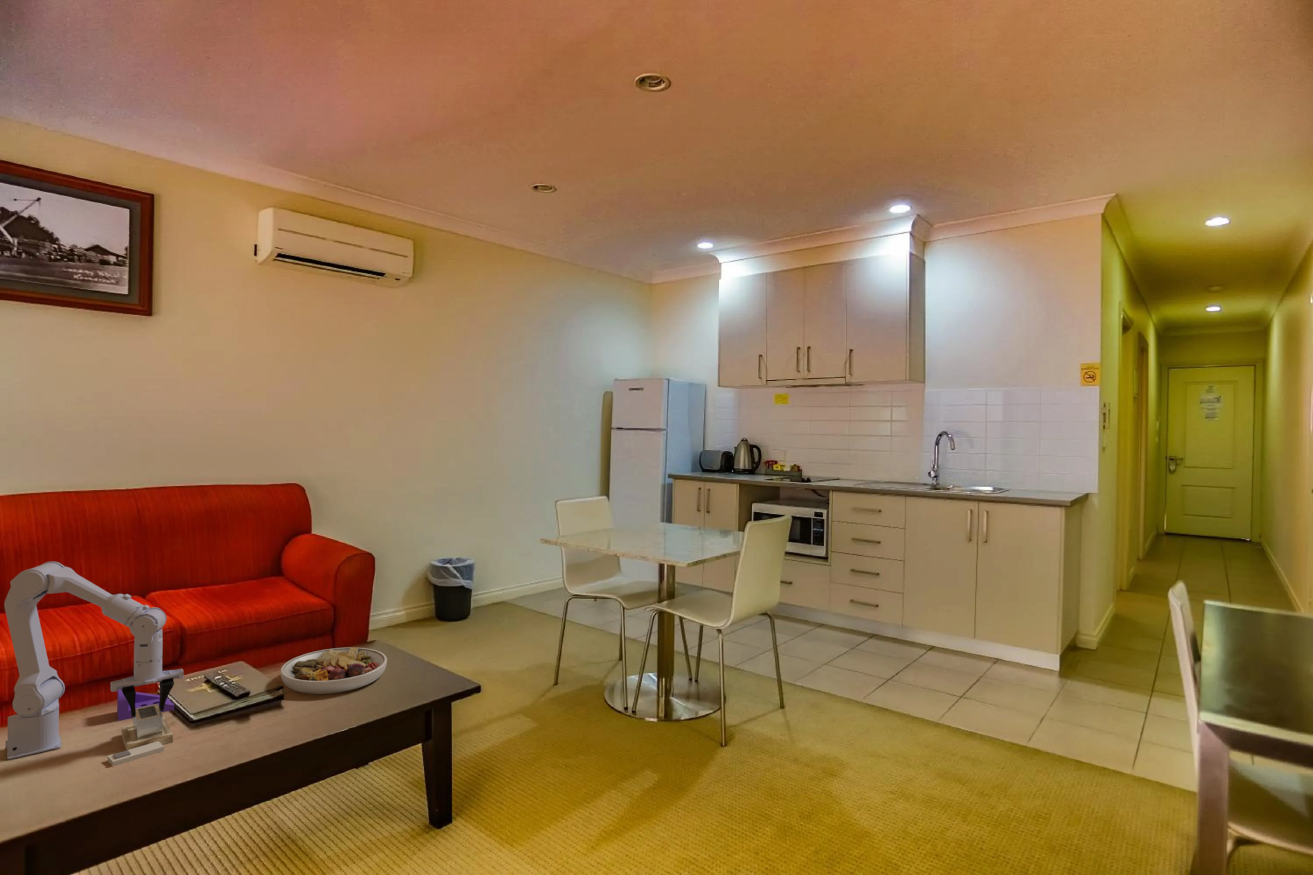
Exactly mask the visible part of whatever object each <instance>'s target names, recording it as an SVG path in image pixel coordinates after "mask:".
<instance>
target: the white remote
mask: <svg viewBox="0 0 1313 875" xmlns="http://www.w3.org/2000/svg"><path fill="white" fill-rule="evenodd" d="M162 752H165V746H164V744H161V743H160V742H159V741H157V742H154V743H150V744H147V745H143V746H140V747H137V748H133V749H130V750H126V749H125V750H123V751H120V752H117V753H114V754H110V755H107V762H108V763H109V764H110V765H111V766H112V767H117V766H120V765H123V764H125V763H130V762H132V761H133V762H134V761H136V760H140V759H142V758H146V757H148V756H151V755H157V754H159V753H162Z"/></svg>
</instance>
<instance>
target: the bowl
mask: <svg viewBox="0 0 1313 875" xmlns="http://www.w3.org/2000/svg"><path fill="white" fill-rule="evenodd" d="M387 662H388V658H387V656H386V655H385V654H384V653H383V652H381V651H379V650H376V649H373V648H365V647H356V646H355V647H354V646H353V647H335V648H328V649H321V650H317V651H315V650H314V651H312V652H307V653H303V654H302V655H299V656H296V657H293V658H291V659H290V660H288V661H286V662H285V663H284V664H283V665H281V668H280V678H281V680H282V682H283V684H284V685H285V686H286V687H287V688H289V690H292V691H295V692H297V693H302V694H303V693H304V694H309V695H329V694H338V693H346V692H350V691H353V690H356V689H359V688H363V687H365V686H368V685H369V684H371V683H373V682H375V681H376V680H378V679H379V678H380V677H381V676H382V674H383V673H384V672H385V670H386V667H387V664H388V663H387Z"/></svg>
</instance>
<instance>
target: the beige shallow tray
mask: <svg viewBox="0 0 1313 875" xmlns="http://www.w3.org/2000/svg"><path fill="white" fill-rule="evenodd" d="M121 738H122V740H123V743H124V747H125V751H126V750H130V749H133V748H137V747H140V746H143V745H147V744H150V743H154V742H157V741H159V742H160V743H161V744H162V745H166V744H171V743H173V740H174V739H173V738H174V734H173V731H172V730H171V727H170V725H169V723H168V721H167V718H166V717H162V735H159V736H155V737H151V738H147V739H142V740H138V741H137V738H136V735H135V732H134V729H133V724H129V725H125V726H122V727H121Z"/></svg>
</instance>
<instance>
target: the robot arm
mask: <svg viewBox="0 0 1313 875" xmlns="http://www.w3.org/2000/svg"><path fill="white" fill-rule="evenodd" d="M9 583H10V588H9V590H8V593H7V595H6V598H5V600H4V603H3V604H4V606H3V607H4V611H5V615H6V619H7V625H8V629H9V633H10V638H11V642H12V646H13V647H12V648H13V650H14V651H13V652H14V655H15V661H16V666H17V670H18V674H19V677H18V679H17V681H16V683H15V685H14V689H13V692H14V698H13V699H12V700H13V701H12V709H13V710H14V712H15V714H13V715H10V716H7V740H5V750H6V751H7V752H6V755H7V756H6V759H7V760H13V759H16V758H17V759H18V758H22V757H26V756H29V755H34V754H38V753H43V752H48V751H53V750H56V749H60V748H62V741H61V735H60V734H59V731H60V727H59V726H60V725H59V724H60V703H59V701H60V700H59V699H60V698H61V697H62V696H63V694H64V693H65V690H66V689H65V688H66V686H65V683H64V682H63V680H62V679H61V678H60V677H59V675H58V670H56V669H54V668H53V667H52V666H50V664H49V663H50V662H49V658H48V655H47V649H46V645H45V640H44V636H43V630H42V626H41V621H40V616H39V612H38V607H37V604H38V603H39V602H40V601H41V600H42V599H43V598H44V596H46V595H47V594H59V593H69V594H71V595H73V596H75V597H78V598H80V599H82V600H85V601H87V602H90V603H91V604H93V605H96V606H97V607H100V608H101V613H102V614H103V615H104V616H106V617H108V618H109V619H112V620H113V621H116V622H117V623H119V624H122V625H123V626H126V627H127V628H129V631H130V633H131V635H132V636H134V643H133V675H132V676H129V677H126V678H122V679H118V680H114V681H111V682H110V691H111V692H112V693H113V692H117V690H120V689H121V690H122V692H123V695H124V696H125V698H126V699H127V701H128V703H129V706H130V709H131V716H132V717H136V709H135V697H136V692H137V691H136V687H139V686H145V685H150V684H156V683H159V695H160V700H159V708H160V711H163V710H164V706H165V702H166V699H167V697H169V695H170V693H171V691H172V689H173V688H174V685H175V681H174V680H177V679H178V680H181V679H184V669H183V668H178V669H169V670H163V644H164V642H163V627H164V626H165V624H166V622H167V619H168V618H167V615H166V613H165V612H164V610H162V609H161V608H159V607H158V606H157V607H155V606H154V607H150V605H148V604H142V603H140V602H138V601H136V600H134V599H133V598H132V595H131V594H128V593H126V594H123V593H117V594H112V593H110V592H108V591H106V590H105V589H103V588H101V587H100V586H98V585H96V584H94V582H91V581H90V580H88V579H86V578H85V577H83V576H81V575H79V574H78V573H76V572H75V570H74V569H73V568H71V567H68V566H65V565H63V564H62V563H60V562H58V561H46V562H44V563H42V564H40V565H37V566H35V567H32V568H28V569H25V570H23V571H21V572H19V573H18V574H17V575H16V576H15V577H14V578H13V579H11V580H10V582H9Z"/></svg>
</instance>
